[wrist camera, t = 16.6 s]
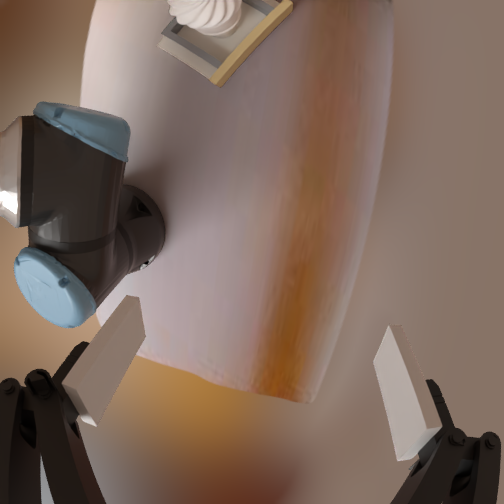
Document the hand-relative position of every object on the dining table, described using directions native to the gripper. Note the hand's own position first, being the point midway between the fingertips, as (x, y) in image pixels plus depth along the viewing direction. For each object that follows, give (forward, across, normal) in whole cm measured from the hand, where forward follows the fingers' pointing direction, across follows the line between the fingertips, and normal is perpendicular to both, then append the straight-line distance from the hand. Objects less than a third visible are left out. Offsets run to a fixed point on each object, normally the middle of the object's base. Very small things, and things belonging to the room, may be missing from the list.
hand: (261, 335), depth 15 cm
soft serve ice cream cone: (+31, -10, +25) cm, 41 cm away
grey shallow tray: (+32, -10, +25) cm, 41 cm away
